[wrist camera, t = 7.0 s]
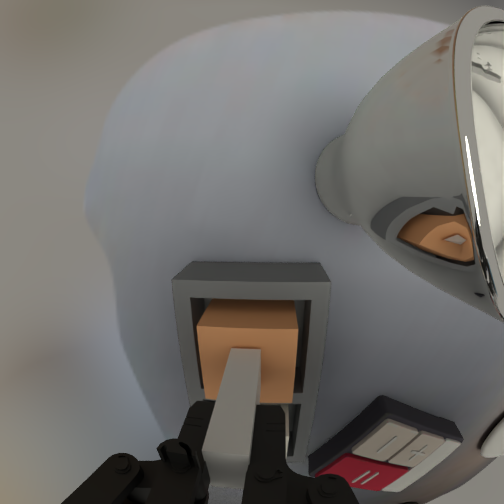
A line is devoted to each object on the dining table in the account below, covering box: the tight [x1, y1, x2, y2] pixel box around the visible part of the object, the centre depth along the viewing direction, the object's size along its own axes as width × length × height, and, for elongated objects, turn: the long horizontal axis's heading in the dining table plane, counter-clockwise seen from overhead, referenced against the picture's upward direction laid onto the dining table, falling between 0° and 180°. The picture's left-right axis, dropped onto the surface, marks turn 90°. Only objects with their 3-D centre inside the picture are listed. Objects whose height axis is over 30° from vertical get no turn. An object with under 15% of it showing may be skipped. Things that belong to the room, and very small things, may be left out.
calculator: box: [308, 395, 464, 492], centre depth 20 cm, size 11×4×15 cm
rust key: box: [197, 298, 298, 403], centre depth 16 cm, size 5×5×4 cm
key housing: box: [172, 262, 331, 462], centre depth 18 cm, size 16×9×4 cm, turn 0°
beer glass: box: [315, 6, 504, 323], centre depth 9 cm, size 7×7×15 cm
